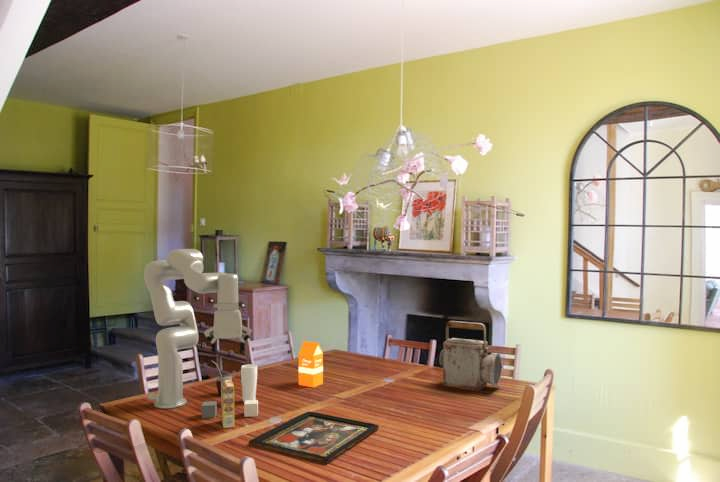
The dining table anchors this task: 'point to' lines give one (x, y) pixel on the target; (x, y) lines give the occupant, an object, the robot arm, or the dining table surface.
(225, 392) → the candy box
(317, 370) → the orange juice
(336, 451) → the framed painting
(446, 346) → the lantern
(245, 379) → the drinking glass
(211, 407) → the dark grey block
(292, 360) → the dining table surface
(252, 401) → the off-white block
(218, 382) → the mate gourd
